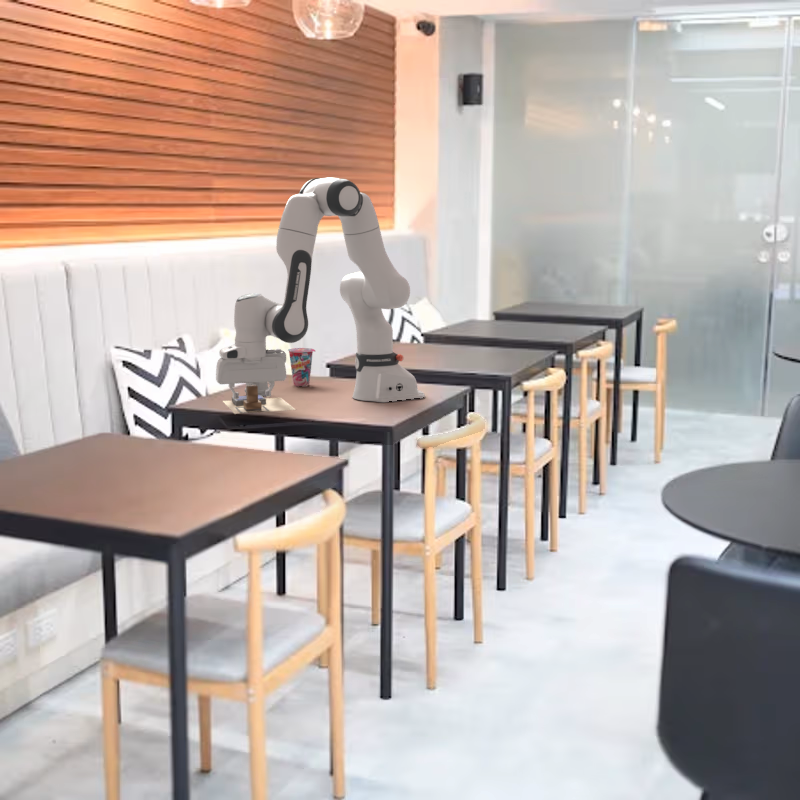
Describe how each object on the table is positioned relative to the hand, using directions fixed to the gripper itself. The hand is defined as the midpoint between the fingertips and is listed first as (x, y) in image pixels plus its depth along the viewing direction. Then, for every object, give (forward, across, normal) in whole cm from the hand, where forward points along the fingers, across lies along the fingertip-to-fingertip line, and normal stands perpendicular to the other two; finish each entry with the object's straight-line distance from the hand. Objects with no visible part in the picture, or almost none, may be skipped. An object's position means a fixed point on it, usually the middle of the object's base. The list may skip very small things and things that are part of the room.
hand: (252, 397), depth 323 cm
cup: (+5, -25, -42) cm, 49 cm away
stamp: (+4, 0, 0) cm, 4 cm away
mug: (+5, -6, -26) cm, 28 cm away
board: (+4, -3, -6) cm, 8 cm away
